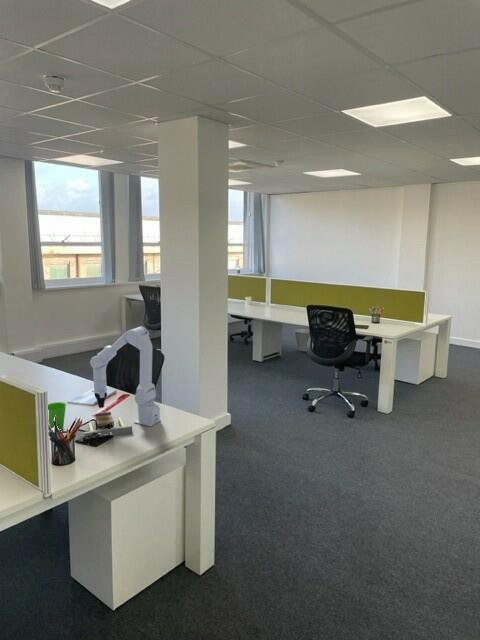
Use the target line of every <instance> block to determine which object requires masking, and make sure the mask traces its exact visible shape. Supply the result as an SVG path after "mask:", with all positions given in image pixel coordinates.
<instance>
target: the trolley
mask: <svg viewBox="0 0 480 640" xmlns="http://www.w3.org/2000/svg"><path fill="white" fill-rule="evenodd" d="M94 415H95V416H94V417H95V421H97V422H96V425H97V428H99V429H101V428H102V426H108V423H113V426H114V424H115V420H114V417H113V416H112V411H107V412H106V411H105V412H100V413H95V414H94Z"/></svg>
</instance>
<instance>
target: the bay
mask: <svg viewBox="0 0 480 640" xmlns="http://www.w3.org/2000/svg"><path fill="white" fill-rule="evenodd" d="M117 420H118V425H119V426H117V427H110V428H111V429H108V428H102V429H101V428H100V429H95V430H94V426H93V425H92V421H89V422H90V423H88V422H87V423H88V426H89V427H88V430H90V431H83V438H84V437H85V436H88V435H91V434H93V433H101V434H108V433H109V432H112V434H113V435H114V436H120V435H127V434H128V435H129V434H132V433H133V425H132V424H129V425H125V422H124V421H123V419H122V417H118V419H117Z"/></svg>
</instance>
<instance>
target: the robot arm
mask: <svg viewBox="0 0 480 640" xmlns="http://www.w3.org/2000/svg"><path fill="white" fill-rule="evenodd" d="M126 344H129V345H132V346H134V347H135V348H136V349H138V350H139V383H138V385H137V387H136V392H135V395H134V401H135V403H136V404H137V416H138V419H136V420H135V421H134V423H135V424H139V425H143V426H148V427H153V426H154V425H156V424H157V423H159V422H161V421H162V419H161V415H160V414H161V413H160V411H161V410H160V407H159V405H157V404H156V403H155V398H156V397H157V391H156V388H155V386H156V385H155V384H154V383H152V382H153V381H152V380H153V379H152V377H153V343H152V340H151V339H150V332H149V330H147V329H146V328H145V327H144V326H138V327H135V328H132V329H128V330H127V331H126V332H124V333H123V334H122V335H121V336H120V337H119V338H118V339H117V340H116V341H114V343H113V344H112V345H105V346H103V349H102V350H101V351H100V352H98V353H97V354H96V355H95V356H92V357H91V359H90V360H89V364H90V367H91V368H92V370H93V371H92V373H93V388H91V392H92V393H93V395H94V397H95V399H96V401H97V406H98V408H99V409H103V408H104V407H105V403H106V402H105V401H106V399H107V396H108V393H107V391H108V388H107V387H108V386H107V365H108V364H109V362H110V361H111V360H112V359H113V358H114V357H115V356H116V355H117V351H118V350H120V349H121V348H123V346H125V345H126Z"/></svg>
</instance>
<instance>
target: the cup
mask: <svg viewBox="0 0 480 640" xmlns="http://www.w3.org/2000/svg"><path fill="white" fill-rule="evenodd" d="M47 404H48V410H49V420H48V424H49V428H50V429H51V428H53V427H54V424H53V419H54V417H55V415H56V416H57V426H58V428H59V429H62V430H63V429H64V424H65V418H66V417H65V416H66V414H65V413H66V407H67V403H66V402H63V401H55V402H50V403H47Z"/></svg>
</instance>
